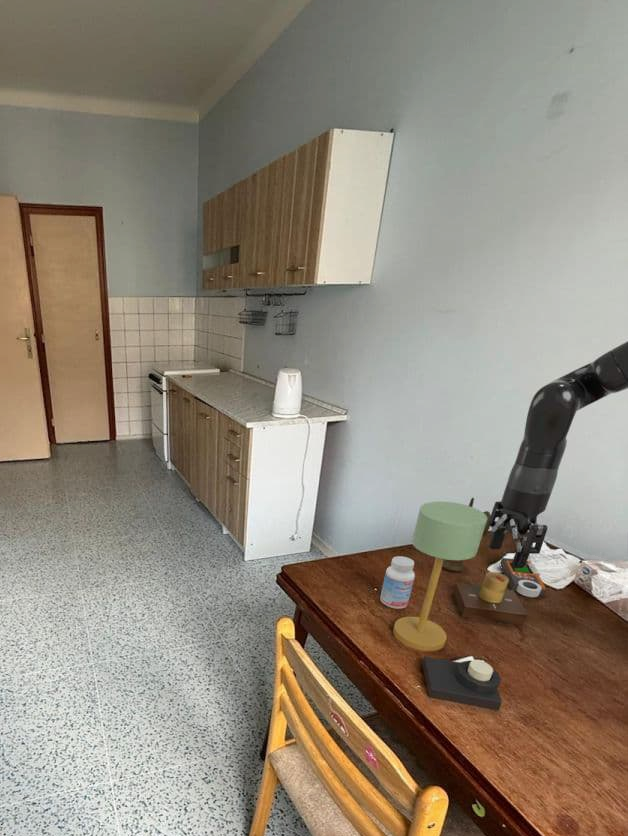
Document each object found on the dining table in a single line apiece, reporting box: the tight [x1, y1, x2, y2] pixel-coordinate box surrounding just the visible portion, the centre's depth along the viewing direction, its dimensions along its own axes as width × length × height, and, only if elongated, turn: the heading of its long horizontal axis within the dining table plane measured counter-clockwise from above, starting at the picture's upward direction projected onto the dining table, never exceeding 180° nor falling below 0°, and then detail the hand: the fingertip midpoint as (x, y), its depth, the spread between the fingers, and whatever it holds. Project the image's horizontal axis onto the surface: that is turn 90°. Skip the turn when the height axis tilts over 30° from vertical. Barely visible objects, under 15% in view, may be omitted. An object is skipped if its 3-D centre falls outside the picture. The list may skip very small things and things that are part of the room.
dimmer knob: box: [479, 571, 509, 603], centre depth 105 cm, size 4×4×6 cm
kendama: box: [442, 497, 491, 573], centre depth 120 cm, size 6×10×20 cm, turn 72°
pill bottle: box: [379, 555, 416, 610], centre depth 108 cm, size 6×6×11 cm
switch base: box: [421, 656, 503, 711], centre depth 86 cm, size 11×9×4 cm
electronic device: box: [499, 557, 547, 598], centre depth 117 cm, size 7×3×15 cm
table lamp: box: [392, 501, 487, 652], centre depth 93 cm, size 11×11×28 cm
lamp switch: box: [467, 659, 494, 681], centre depth 84 cm, size 4×4×2 cm
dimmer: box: [452, 582, 528, 627], centre depth 107 cm, size 12×10×3 cm
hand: (505, 557), depth 101 cm, fingers open, 8 cm apart
